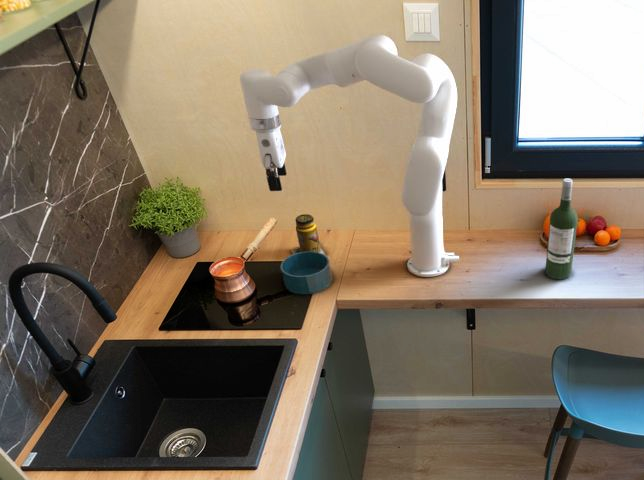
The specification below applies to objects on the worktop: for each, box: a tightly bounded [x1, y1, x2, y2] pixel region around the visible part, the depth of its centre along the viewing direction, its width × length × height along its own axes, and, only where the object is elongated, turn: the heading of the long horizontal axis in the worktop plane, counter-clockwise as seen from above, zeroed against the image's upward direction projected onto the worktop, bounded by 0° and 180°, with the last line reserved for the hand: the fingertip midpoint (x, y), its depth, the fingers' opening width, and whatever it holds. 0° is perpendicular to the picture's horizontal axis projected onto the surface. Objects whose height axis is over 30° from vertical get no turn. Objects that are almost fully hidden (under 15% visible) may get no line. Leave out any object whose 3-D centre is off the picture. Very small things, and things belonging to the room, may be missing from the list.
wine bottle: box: [544, 177, 579, 280], centre depth 172 cm, size 8×8×30 cm
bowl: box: [280, 251, 333, 295], centre depth 172 cm, size 13×13×6 cm
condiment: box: [290, 213, 326, 255], centre depth 182 cm, size 7×8×12 cm
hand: (278, 182), depth 167 cm, fingers open, 9 cm apart
